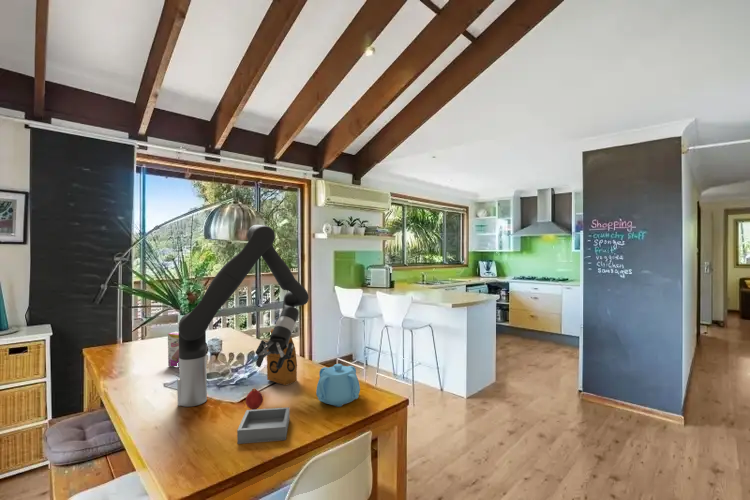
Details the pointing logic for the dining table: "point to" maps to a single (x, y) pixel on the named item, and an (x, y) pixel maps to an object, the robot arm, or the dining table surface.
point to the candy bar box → (173, 348)
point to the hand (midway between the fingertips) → (267, 367)
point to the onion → (254, 399)
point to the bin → (264, 425)
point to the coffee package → (288, 369)
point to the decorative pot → (338, 385)
